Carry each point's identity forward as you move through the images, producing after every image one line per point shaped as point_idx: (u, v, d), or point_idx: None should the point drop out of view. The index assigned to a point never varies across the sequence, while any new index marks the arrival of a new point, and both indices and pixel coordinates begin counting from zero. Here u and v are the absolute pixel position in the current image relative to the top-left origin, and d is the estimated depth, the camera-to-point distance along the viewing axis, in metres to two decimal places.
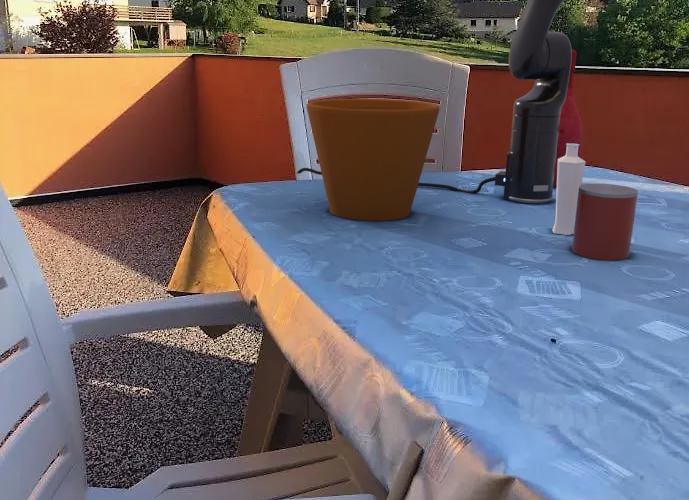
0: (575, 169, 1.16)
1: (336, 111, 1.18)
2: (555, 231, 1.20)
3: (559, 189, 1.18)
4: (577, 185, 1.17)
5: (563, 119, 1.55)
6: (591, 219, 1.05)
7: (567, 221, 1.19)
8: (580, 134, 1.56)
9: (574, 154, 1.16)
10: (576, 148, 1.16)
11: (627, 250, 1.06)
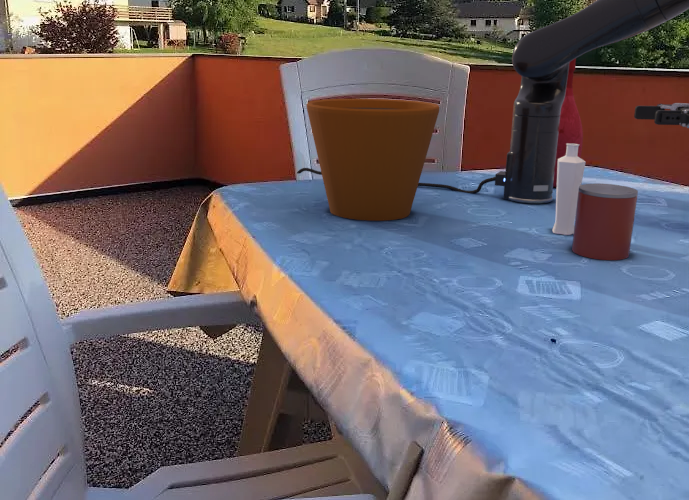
0: (575, 169, 1.16)
1: (336, 111, 1.18)
2: (555, 231, 1.20)
3: (559, 189, 1.18)
4: (577, 185, 1.17)
5: (563, 119, 1.55)
6: (591, 219, 1.05)
7: (567, 221, 1.19)
8: (580, 134, 1.56)
9: (574, 154, 1.16)
10: (576, 148, 1.16)
11: (627, 250, 1.06)
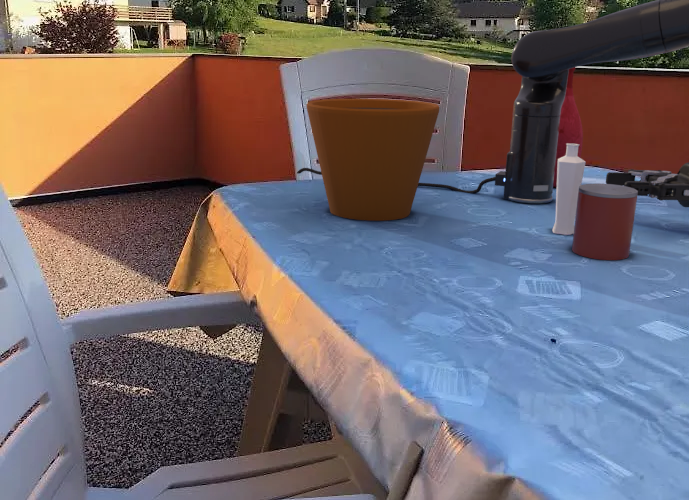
0: (575, 169, 1.16)
1: (336, 111, 1.18)
2: (555, 231, 1.20)
3: (559, 189, 1.18)
4: (577, 185, 1.17)
5: (563, 119, 1.55)
6: (591, 219, 1.05)
7: (567, 221, 1.19)
8: (580, 134, 1.56)
9: (574, 154, 1.16)
10: (576, 148, 1.16)
11: (627, 250, 1.06)
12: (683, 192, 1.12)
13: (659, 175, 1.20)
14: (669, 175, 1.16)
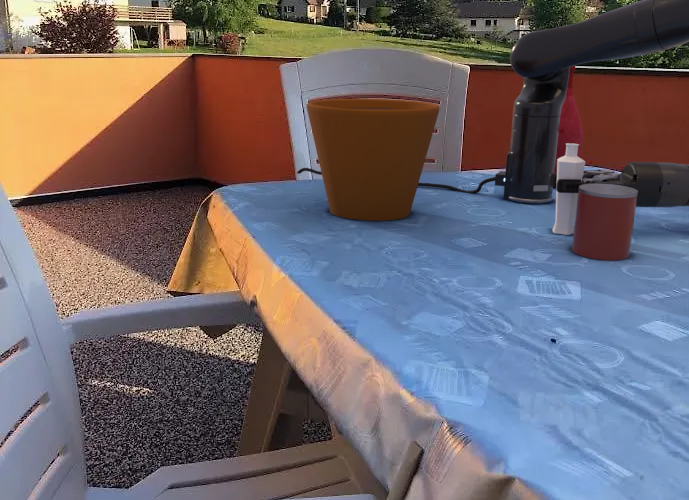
0: (574, 168, 1.16)
1: (336, 111, 1.18)
2: (555, 231, 1.20)
3: None
4: None
5: (563, 119, 1.55)
6: (591, 219, 1.05)
7: (567, 220, 1.19)
8: (580, 134, 1.56)
9: (574, 154, 1.17)
10: (576, 148, 1.16)
11: (627, 250, 1.06)
12: None
13: (602, 175, 1.20)
14: (610, 174, 1.17)
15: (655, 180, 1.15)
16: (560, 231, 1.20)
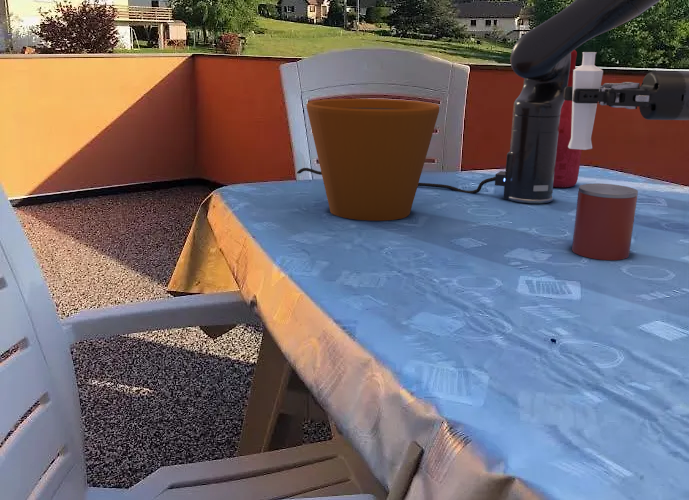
0: (592, 77, 1.10)
1: (336, 111, 1.18)
2: (571, 146, 1.14)
3: None
4: None
5: (563, 119, 1.55)
6: (591, 219, 1.05)
7: (584, 134, 1.13)
8: None
9: (591, 62, 1.10)
10: (593, 56, 1.10)
11: (627, 250, 1.06)
12: (635, 98, 1.07)
13: None
14: (629, 84, 1.11)
15: (677, 88, 1.09)
16: (576, 146, 1.14)
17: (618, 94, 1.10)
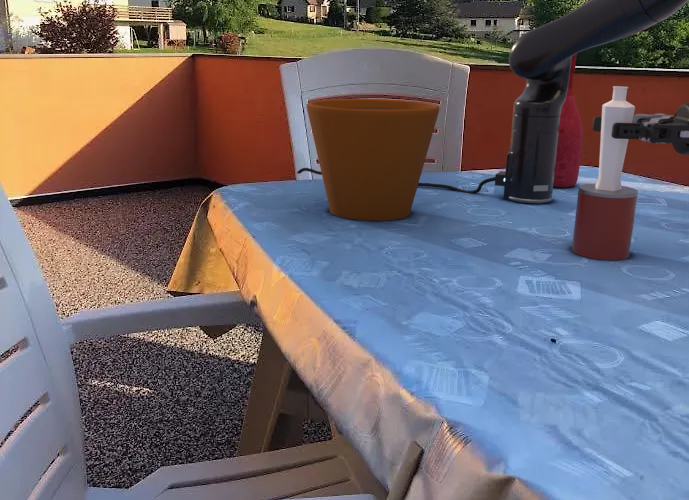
0: (623, 114, 1.01)
1: (336, 111, 1.18)
2: (599, 187, 1.06)
3: (604, 138, 1.04)
4: None
5: (563, 119, 1.55)
6: (591, 219, 1.05)
7: (613, 175, 1.05)
8: (580, 134, 1.56)
9: (622, 98, 1.02)
10: (625, 91, 1.02)
11: (627, 250, 1.06)
12: (679, 133, 0.98)
13: None
14: (664, 116, 1.02)
15: None
16: (605, 187, 1.05)
17: None
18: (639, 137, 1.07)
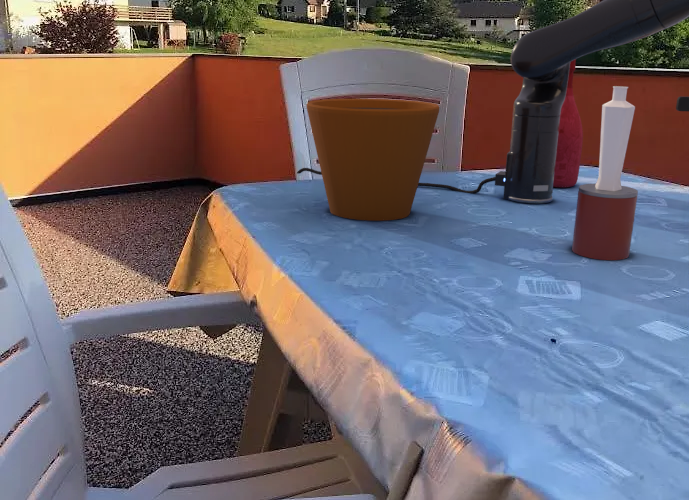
0: (623, 114, 1.01)
1: (336, 111, 1.18)
2: (599, 187, 1.06)
3: (604, 138, 1.04)
4: (625, 134, 1.03)
5: (563, 119, 1.55)
6: (591, 219, 1.05)
7: (613, 175, 1.05)
8: (580, 134, 1.56)
9: (622, 98, 1.02)
10: (625, 91, 1.02)
11: (627, 250, 1.06)
12: None
13: None
14: None
15: None
16: (605, 187, 1.05)
17: None
18: None
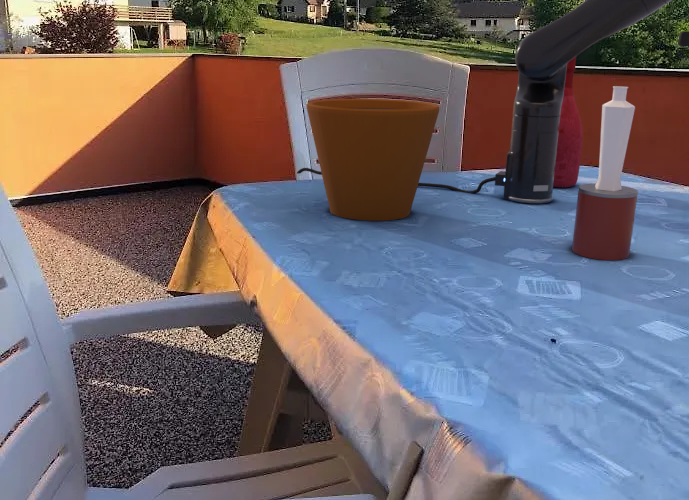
0: (623, 114, 1.01)
1: (336, 111, 1.18)
2: (599, 187, 1.06)
3: (604, 138, 1.04)
4: (625, 134, 1.03)
5: (563, 119, 1.55)
6: (591, 219, 1.05)
7: (613, 175, 1.05)
8: (580, 134, 1.56)
9: (622, 98, 1.02)
10: (625, 91, 1.02)
11: (627, 250, 1.06)
12: None
13: None
14: None
15: None
16: (605, 187, 1.05)
17: None
18: None
